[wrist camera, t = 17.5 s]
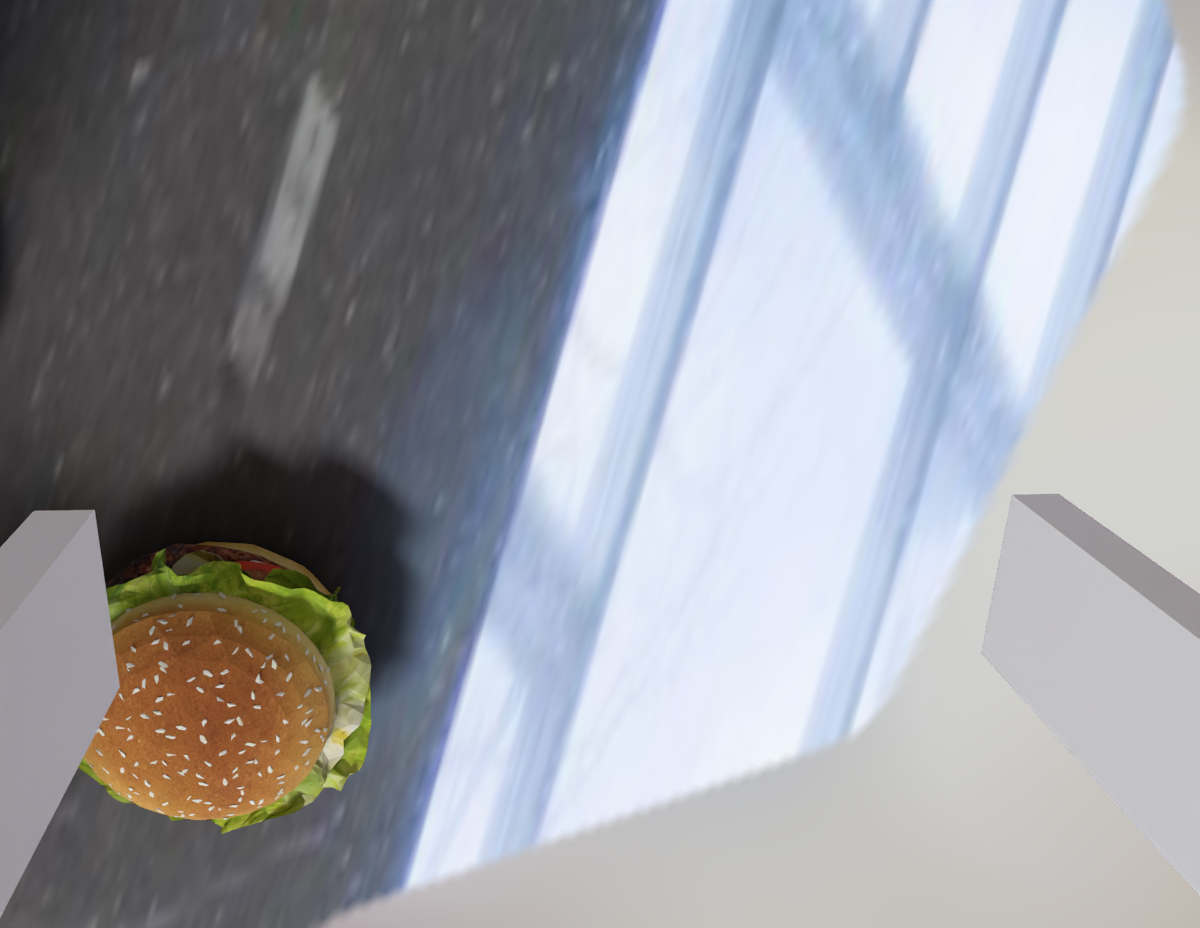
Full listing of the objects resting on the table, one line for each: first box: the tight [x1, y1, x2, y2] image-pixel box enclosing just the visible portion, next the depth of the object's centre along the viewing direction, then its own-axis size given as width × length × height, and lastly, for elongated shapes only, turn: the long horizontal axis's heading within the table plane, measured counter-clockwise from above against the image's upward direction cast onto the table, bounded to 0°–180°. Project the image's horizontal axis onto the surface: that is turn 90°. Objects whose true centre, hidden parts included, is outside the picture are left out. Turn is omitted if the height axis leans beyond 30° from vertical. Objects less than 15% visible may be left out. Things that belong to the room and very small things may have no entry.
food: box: [78, 542, 371, 833], centre depth 47 cm, size 14×14×8 cm
